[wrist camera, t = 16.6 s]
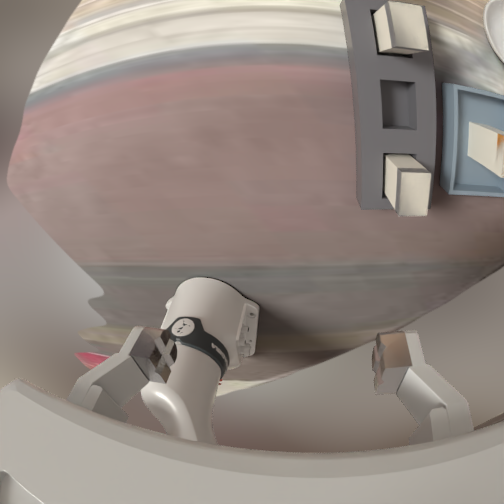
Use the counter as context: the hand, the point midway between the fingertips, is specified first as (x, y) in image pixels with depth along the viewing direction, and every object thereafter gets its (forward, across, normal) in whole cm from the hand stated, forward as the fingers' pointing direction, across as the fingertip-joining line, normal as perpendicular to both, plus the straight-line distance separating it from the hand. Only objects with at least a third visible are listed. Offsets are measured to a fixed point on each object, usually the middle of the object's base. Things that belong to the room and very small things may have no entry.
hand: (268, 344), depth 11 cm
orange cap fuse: (+30, +27, +2) cm, 41 cm away
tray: (+31, +27, +2) cm, 41 cm away
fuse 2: (+30, +13, -3) cm, 33 cm away
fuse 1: (+30, +13, +15) cm, 36 cm away
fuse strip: (+31, +13, +6) cm, 34 cm away
